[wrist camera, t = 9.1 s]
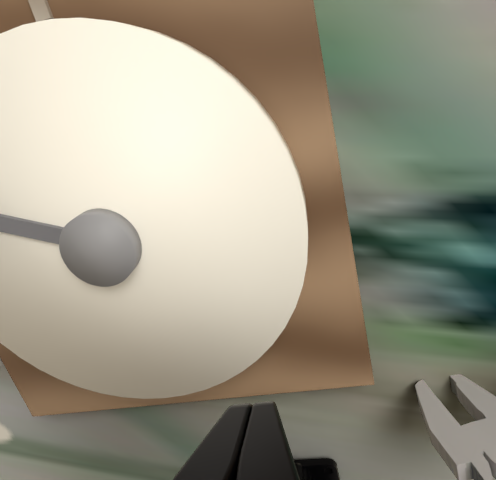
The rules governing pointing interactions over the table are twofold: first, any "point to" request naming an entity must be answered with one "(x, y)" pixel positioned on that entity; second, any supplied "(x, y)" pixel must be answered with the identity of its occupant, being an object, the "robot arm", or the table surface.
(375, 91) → the table surface
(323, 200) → the dial base
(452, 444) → the caliper
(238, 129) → the dial
